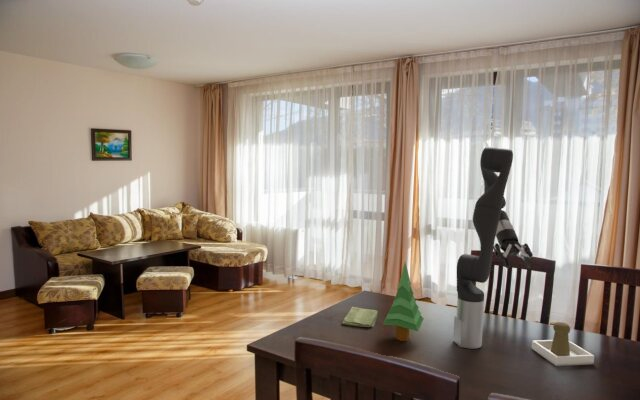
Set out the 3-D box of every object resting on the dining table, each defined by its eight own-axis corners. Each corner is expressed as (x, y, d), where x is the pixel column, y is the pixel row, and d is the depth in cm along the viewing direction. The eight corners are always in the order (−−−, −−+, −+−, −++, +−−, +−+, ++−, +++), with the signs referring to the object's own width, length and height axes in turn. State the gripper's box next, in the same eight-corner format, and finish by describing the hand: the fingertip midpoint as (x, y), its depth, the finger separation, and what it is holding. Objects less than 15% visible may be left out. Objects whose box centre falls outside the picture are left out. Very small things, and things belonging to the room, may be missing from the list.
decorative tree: (378, 342, 164) (380, 262, 161) (392, 328, 178) (394, 254, 175) (414, 350, 158) (417, 267, 155) (425, 335, 171) (428, 259, 169)
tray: (556, 366, 147) (556, 357, 147) (531, 348, 160) (532, 340, 160) (593, 364, 149) (594, 355, 148) (566, 347, 162) (566, 339, 162)
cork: (572, 358, 152) (574, 327, 150) (553, 356, 153) (555, 325, 152) (566, 350, 157) (568, 320, 156) (548, 349, 158) (549, 319, 157)
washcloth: (341, 326, 180) (341, 318, 180) (350, 312, 197) (350, 305, 197) (373, 330, 176) (373, 322, 176) (379, 315, 193) (380, 308, 193)
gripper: (492, 227, 179) (505, 262, 168) (525, 228, 180) (540, 262, 170) (485, 238, 185) (497, 272, 174) (517, 238, 186) (531, 272, 176)
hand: (519, 267), depth 172 cm, fingers open, 8 cm apart
